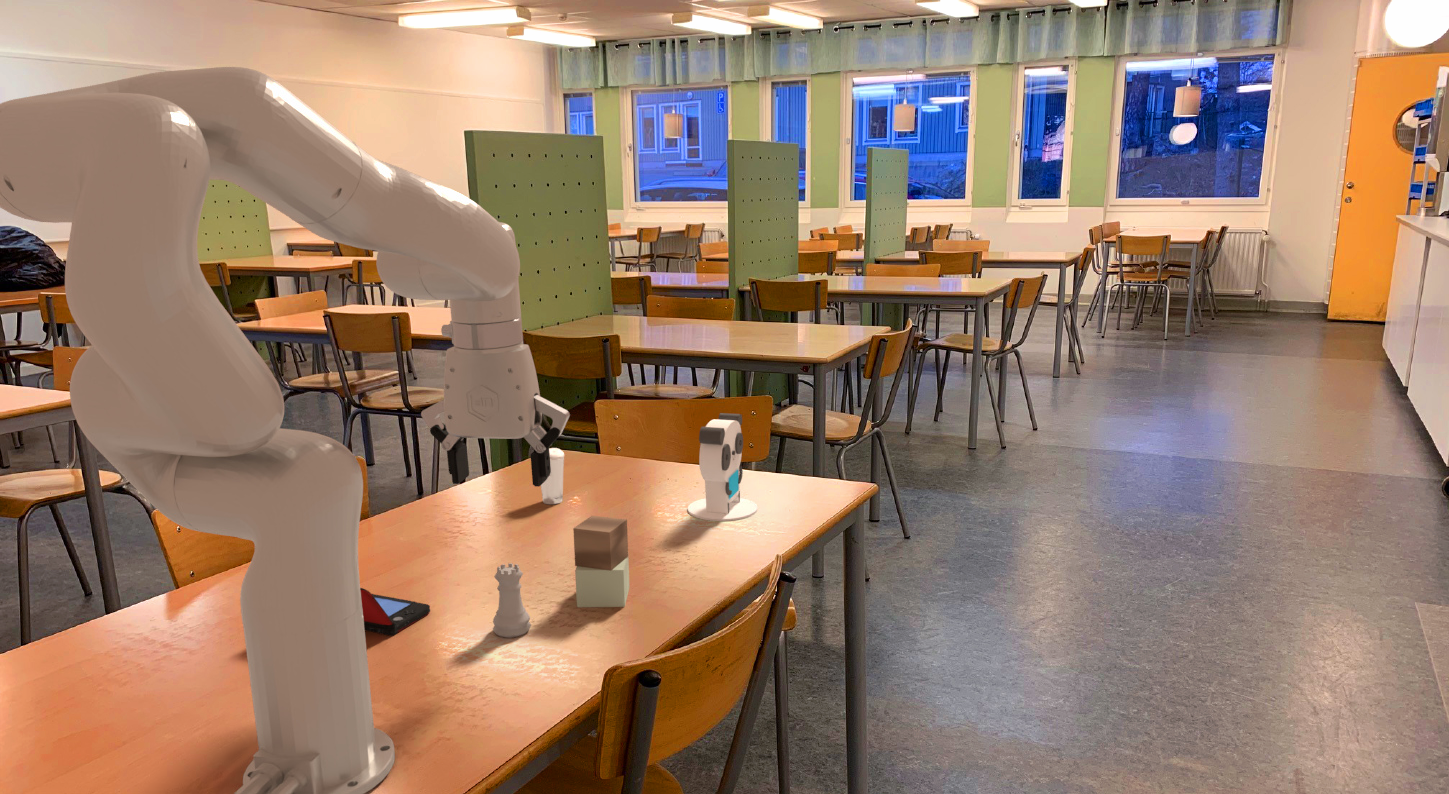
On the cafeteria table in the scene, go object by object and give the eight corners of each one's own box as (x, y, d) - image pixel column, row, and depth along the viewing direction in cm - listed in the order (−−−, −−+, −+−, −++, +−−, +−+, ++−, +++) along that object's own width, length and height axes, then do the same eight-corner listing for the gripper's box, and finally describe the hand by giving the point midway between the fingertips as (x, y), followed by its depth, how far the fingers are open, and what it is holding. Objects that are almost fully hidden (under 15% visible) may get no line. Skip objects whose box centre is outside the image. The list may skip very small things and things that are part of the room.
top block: (611, 570, 120) (609, 532, 119) (575, 566, 122) (573, 528, 121) (628, 556, 125) (626, 519, 124) (593, 552, 127) (591, 515, 126)
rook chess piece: (522, 640, 113) (518, 576, 111) (486, 637, 114) (482, 573, 112) (537, 624, 117) (533, 561, 115) (502, 621, 118) (498, 559, 116)
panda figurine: (744, 525, 150) (744, 431, 147) (676, 518, 154) (674, 426, 151) (765, 501, 161) (765, 413, 158) (701, 496, 165) (699, 410, 162)
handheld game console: (435, 613, 121) (430, 557, 119) (372, 651, 111) (367, 590, 110) (357, 598, 126) (351, 544, 124) (291, 633, 116) (284, 574, 114)
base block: (624, 607, 122) (623, 570, 120) (577, 608, 122) (575, 570, 121) (629, 588, 127) (628, 552, 126) (583, 588, 127) (582, 552, 126)
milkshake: (531, 506, 161) (528, 447, 159) (546, 496, 166) (543, 439, 164) (556, 508, 159) (553, 449, 157) (571, 498, 164) (568, 441, 162)
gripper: (399, 341, 105) (415, 490, 110) (551, 341, 103) (562, 495, 107) (430, 328, 113) (444, 469, 117) (573, 329, 110) (582, 473, 114)
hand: (500, 481), depth 112 cm, fingers open, 9 cm apart
